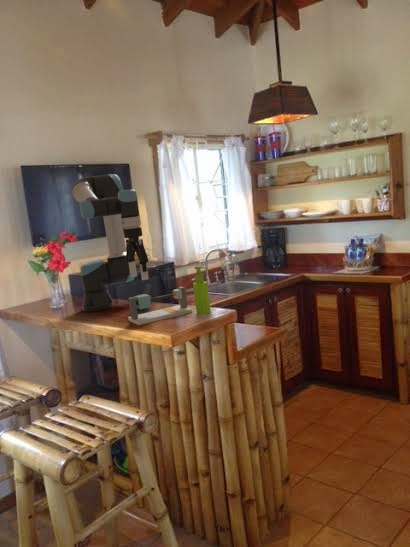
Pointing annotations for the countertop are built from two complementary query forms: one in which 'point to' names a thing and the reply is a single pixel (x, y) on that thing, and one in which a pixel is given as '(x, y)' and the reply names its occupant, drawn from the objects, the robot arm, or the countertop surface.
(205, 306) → the soap dispenser
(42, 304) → the countertop surface
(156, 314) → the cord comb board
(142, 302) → the marker sleeve
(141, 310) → the mortar and pestle
